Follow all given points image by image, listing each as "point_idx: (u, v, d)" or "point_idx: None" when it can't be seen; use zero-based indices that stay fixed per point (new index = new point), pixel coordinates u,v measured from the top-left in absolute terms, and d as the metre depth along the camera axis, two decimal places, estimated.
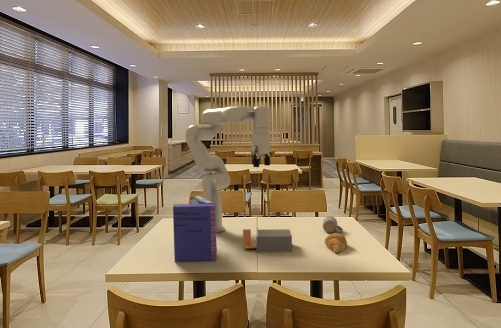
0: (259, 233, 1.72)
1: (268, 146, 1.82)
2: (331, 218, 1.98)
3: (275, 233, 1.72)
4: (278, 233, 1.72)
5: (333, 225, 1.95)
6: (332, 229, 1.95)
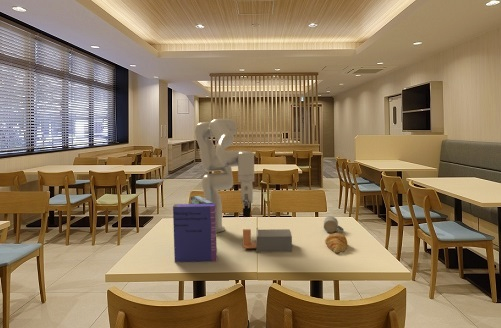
0: (259, 233, 1.72)
1: (241, 195, 1.68)
2: (332, 218, 1.98)
3: (275, 233, 1.72)
4: (278, 233, 1.72)
5: (334, 225, 1.95)
6: (333, 229, 1.95)
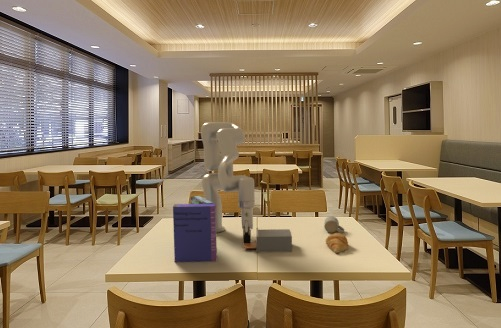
0: (259, 233, 1.72)
1: None
2: (333, 218, 1.98)
3: (275, 233, 1.72)
4: (278, 233, 1.72)
5: (335, 225, 1.94)
6: (334, 229, 1.95)
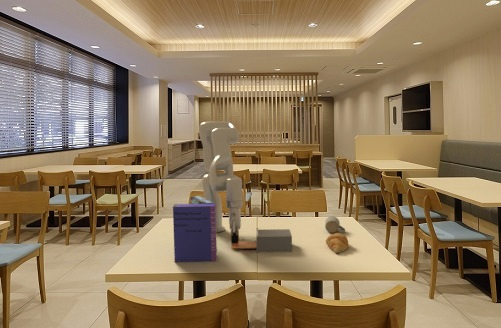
0: (259, 233, 1.72)
1: None
2: (333, 218, 1.98)
3: (275, 233, 1.72)
4: (278, 233, 1.72)
5: (335, 225, 1.94)
6: (334, 229, 1.95)
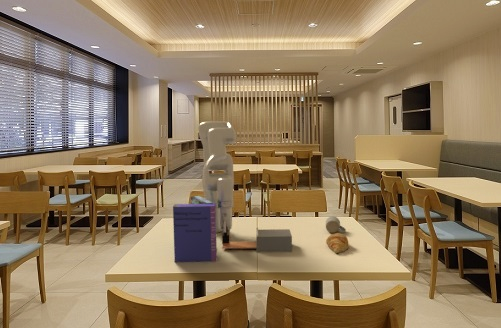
0: (259, 233, 1.72)
1: None
2: (334, 218, 1.98)
3: (275, 233, 1.72)
4: (278, 233, 1.72)
5: (336, 225, 1.94)
6: (335, 229, 1.95)
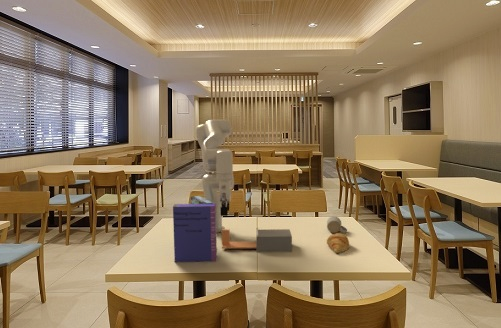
0: (259, 233, 1.72)
1: None
2: (335, 218, 1.98)
3: (275, 233, 1.72)
4: (278, 233, 1.72)
5: (337, 225, 1.94)
6: (336, 229, 1.94)
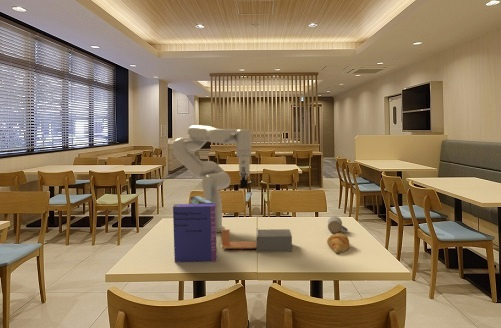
0: (259, 233, 1.72)
1: None
2: (336, 218, 1.98)
3: (275, 233, 1.72)
4: (278, 233, 1.72)
5: (338, 225, 1.94)
6: (337, 229, 1.94)
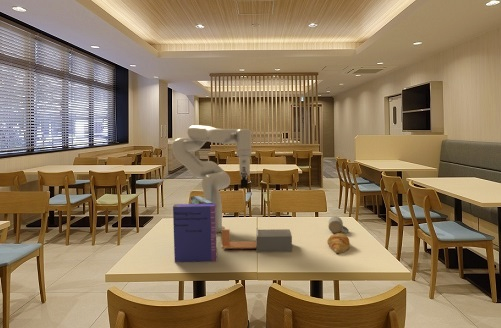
0: (259, 233, 1.72)
1: None
2: (337, 218, 1.98)
3: (275, 233, 1.72)
4: (278, 233, 1.72)
5: (339, 225, 1.94)
6: (338, 229, 1.94)
